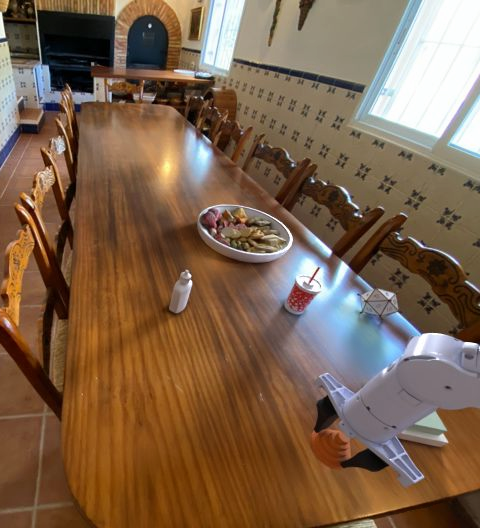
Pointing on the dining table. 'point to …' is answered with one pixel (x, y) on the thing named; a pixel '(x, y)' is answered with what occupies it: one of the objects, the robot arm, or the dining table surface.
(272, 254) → the bowl
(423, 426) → the top block
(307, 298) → the beverage cup
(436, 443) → the base block
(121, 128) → the dining table surface
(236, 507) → the dining table surface
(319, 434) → the cone
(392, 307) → the game die
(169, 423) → the dining table surface
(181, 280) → the eye dropper bottle
